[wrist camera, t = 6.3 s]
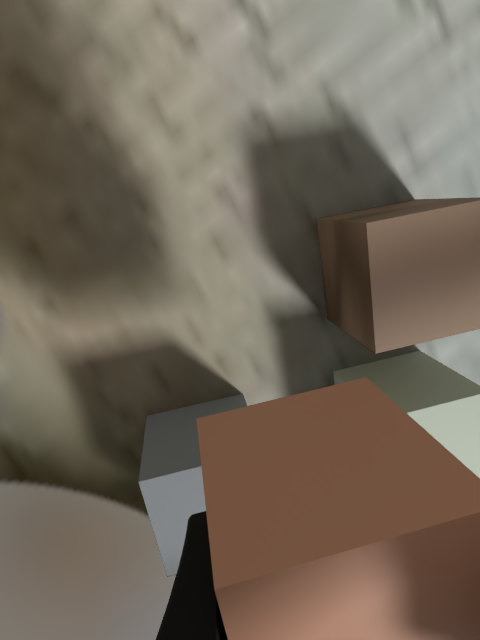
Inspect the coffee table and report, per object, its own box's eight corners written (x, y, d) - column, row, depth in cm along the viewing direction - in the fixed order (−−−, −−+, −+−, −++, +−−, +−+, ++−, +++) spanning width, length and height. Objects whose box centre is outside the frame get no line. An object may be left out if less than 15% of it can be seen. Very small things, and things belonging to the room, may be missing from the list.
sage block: (421, 427, 23) (486, 485, 18) (341, 448, 22) (386, 514, 17) (418, 350, 21) (489, 391, 16) (332, 370, 21) (379, 419, 16)
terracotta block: (377, 512, 13) (497, 694, 8) (229, 554, 12) (264, 775, 7) (366, 377, 11) (508, 503, 6) (196, 418, 11) (213, 589, 6)
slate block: (256, 470, 22) (280, 545, 17) (168, 493, 21) (167, 576, 16) (242, 392, 20) (264, 450, 15) (146, 415, 20) (138, 481, 15)
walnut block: (417, 297, 20) (491, 325, 15) (326, 318, 20) (375, 353, 15) (413, 199, 19) (495, 197, 14) (315, 218, 18) (366, 223, 13)
